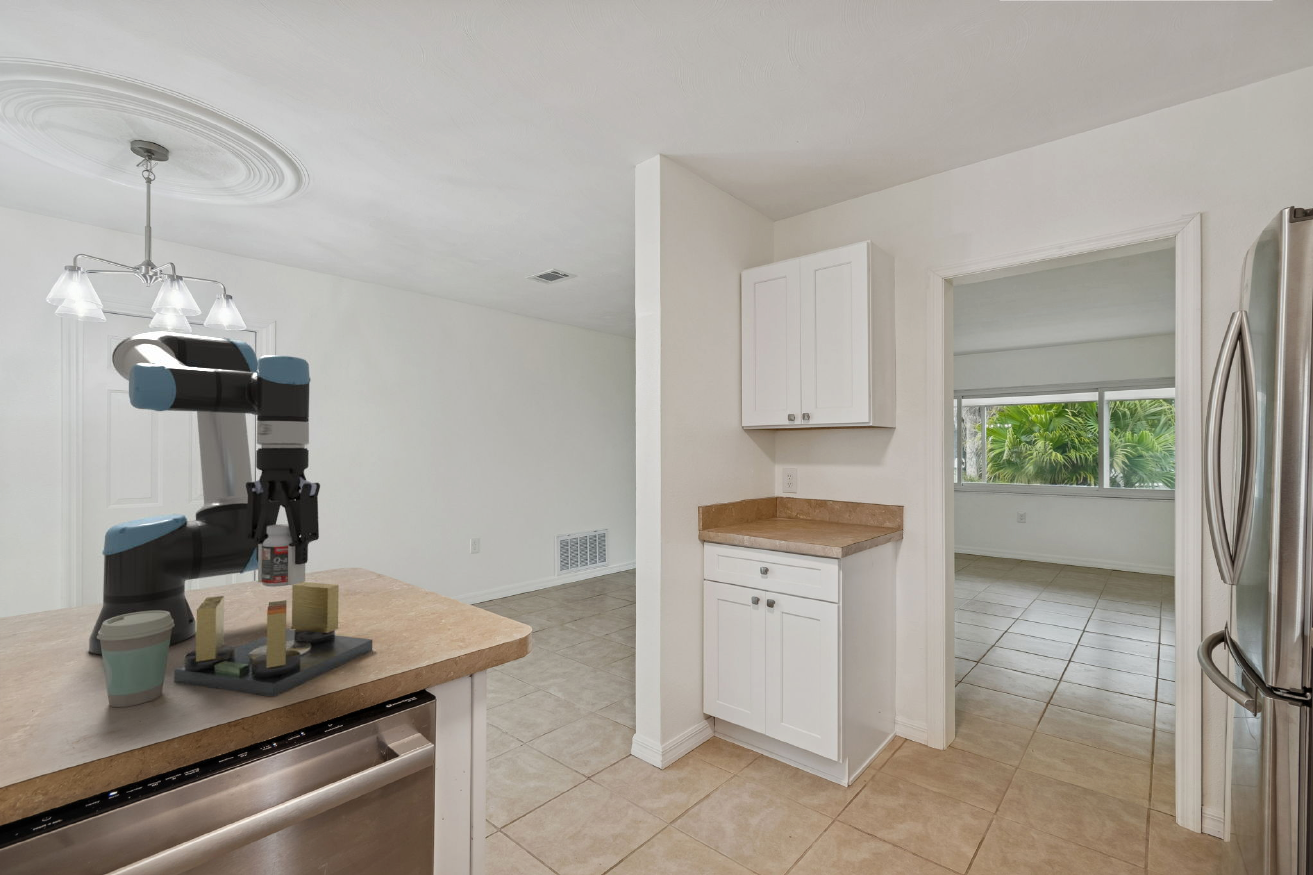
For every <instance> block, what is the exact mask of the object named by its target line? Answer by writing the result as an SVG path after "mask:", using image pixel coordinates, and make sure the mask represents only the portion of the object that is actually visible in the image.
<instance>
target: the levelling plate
mask: <svg viewBox="0 0 1313 875" xmlns="http://www.w3.org/2000/svg"><path fill="white" fill-rule="evenodd" d="M295 630H296V629H287V628H286V651H288V650H290V651H298V652H300V668H299V669H298V670H297V671H295V672H293V673H291V674H288V675H285V676H281V677H276V678H269V679H258V678H254V677H252V661H253V660H254V659H255V658H257V657H259V656H262V655H264V654H267V635H266V636H263V637H261V638H257V639H255V640H252V641H249V642H247V643H244V644H241V645H237V646H236V647H235V646H234V647H235V661H234V662H228V661H224V662H221V663H218V664H216V665H215V670H210V671H204V672H188V671H186V670H185V664H184V665H182V666H179V667H176V668H174V674H173V676H174V678H173V682H175V683H181V684H189V685H194V686H200V687H206V688H214V689H221V690H226V691H232V692H238V693H243V694H251V695H257V696H263V697H265V696H266V697H271V698H275V697H277V696H279V695H282V694H283V693H285V692H287V691H290V690H291V689H294V688H295V687H297V686H300V685H302V684H304V683H306V682H309V681H310V680H313V679H314V678H315V679H316V678H317V677H319V676H322V675H323V674H326V673H328V672H331V671H332V670H334V669H337V668H338V667H340V666H342V665H344V664H347V663H349V662H351V661H352V660H355V659H357V658H359V657H361V656H364V655H366V654H368V653H371V652H372V651H373V639H371V638H364V637H363V638H361V637H355V636H354V637H353V636H346V635H337V634H335V638H334V639H333V640H331V641H329V642H326V643H322V644H318V645H311V643H309V642H296V641H294V631H295Z"/></svg>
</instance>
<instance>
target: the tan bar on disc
mask: <svg viewBox="0 0 1313 875" xmlns="http://www.w3.org/2000/svg"><path fill="white" fill-rule="evenodd" d="M266 612H267V614H266V636H267V654H264V655H262V656H259V657H257V658H255V659H254V660H253V661H252V677H254V678H258V679H269V678H276V677H281V676H285V675H288V674H291V673H293V672H295V671H297V670H298V669H299V668H300V652H298V651H290V650H288V651H286V629H287V599H286V600H277V601H269V602H268V606H267V611H266Z"/></svg>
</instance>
